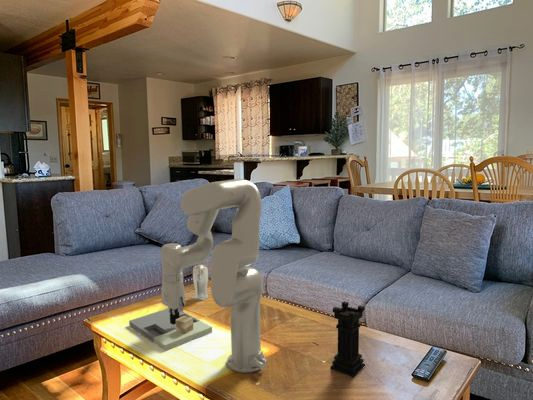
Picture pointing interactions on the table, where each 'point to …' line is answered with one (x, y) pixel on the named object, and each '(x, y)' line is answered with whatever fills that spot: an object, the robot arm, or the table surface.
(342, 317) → the chess piece
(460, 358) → the table surface
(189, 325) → the maple cube
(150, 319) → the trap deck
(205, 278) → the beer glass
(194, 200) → the robot arm
